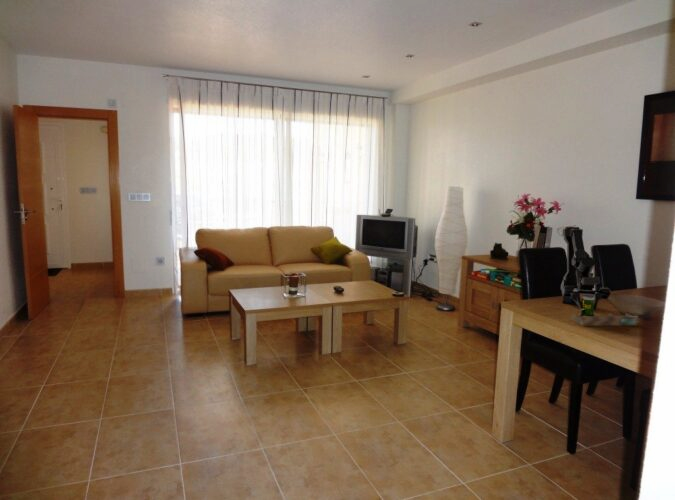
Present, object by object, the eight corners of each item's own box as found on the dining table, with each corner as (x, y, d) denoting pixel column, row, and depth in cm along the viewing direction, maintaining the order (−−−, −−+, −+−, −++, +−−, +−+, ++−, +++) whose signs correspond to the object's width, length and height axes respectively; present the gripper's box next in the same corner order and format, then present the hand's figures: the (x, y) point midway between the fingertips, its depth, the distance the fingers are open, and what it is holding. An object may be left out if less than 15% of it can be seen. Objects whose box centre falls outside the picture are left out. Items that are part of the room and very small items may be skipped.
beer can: (581, 319, 208) (583, 294, 207) (594, 322, 205) (596, 296, 203) (578, 322, 204) (580, 296, 203) (591, 325, 201) (594, 298, 199)
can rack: (581, 325, 200) (582, 316, 200) (571, 319, 209) (572, 311, 208) (637, 325, 200) (638, 316, 199) (625, 319, 209) (626, 310, 208)
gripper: (565, 268, 207) (569, 298, 198) (611, 270, 202) (617, 301, 194) (560, 281, 216) (563, 311, 207) (604, 283, 211) (610, 313, 202)
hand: (588, 309), depth 202 cm, fingers closed on beer can, 5 cm apart
